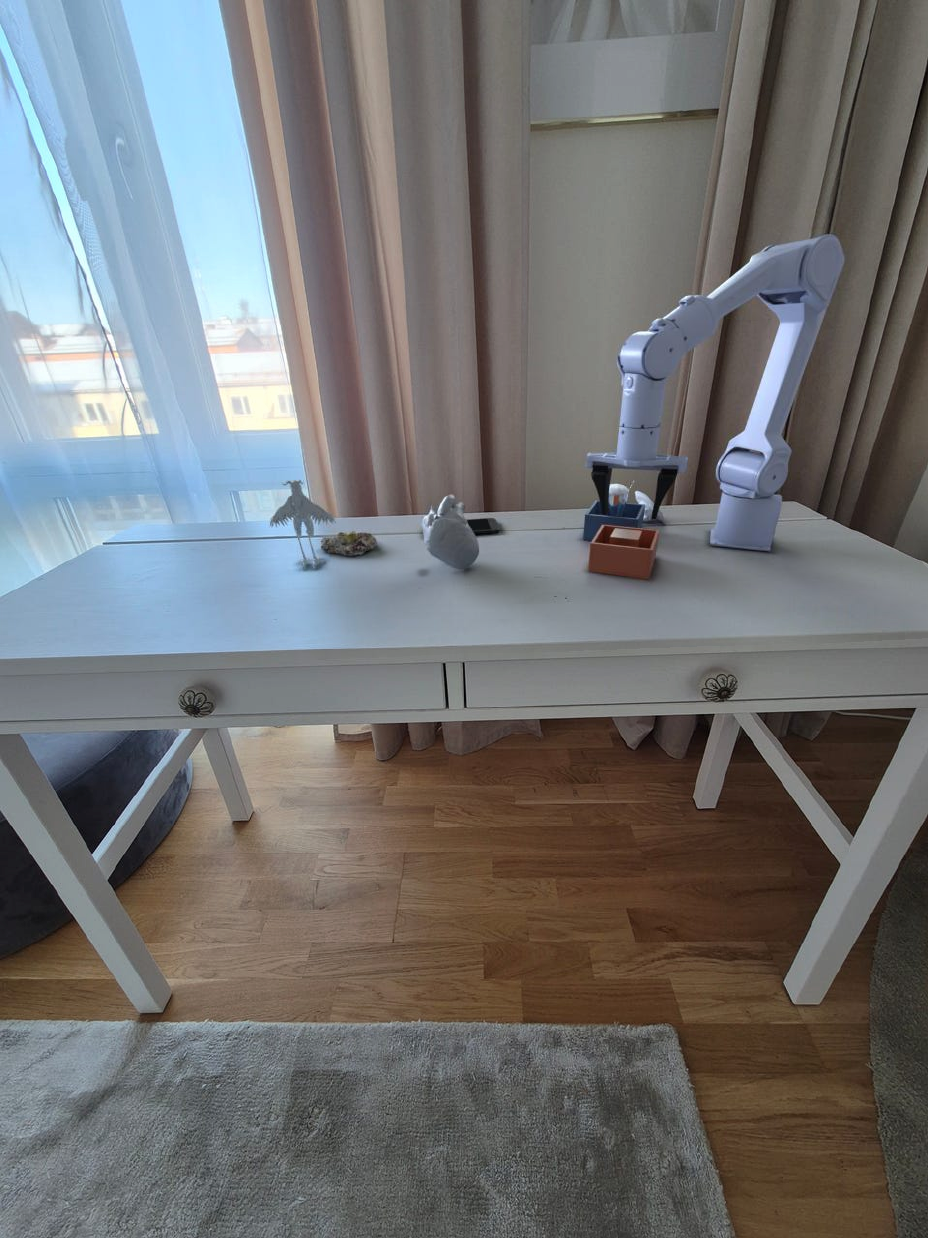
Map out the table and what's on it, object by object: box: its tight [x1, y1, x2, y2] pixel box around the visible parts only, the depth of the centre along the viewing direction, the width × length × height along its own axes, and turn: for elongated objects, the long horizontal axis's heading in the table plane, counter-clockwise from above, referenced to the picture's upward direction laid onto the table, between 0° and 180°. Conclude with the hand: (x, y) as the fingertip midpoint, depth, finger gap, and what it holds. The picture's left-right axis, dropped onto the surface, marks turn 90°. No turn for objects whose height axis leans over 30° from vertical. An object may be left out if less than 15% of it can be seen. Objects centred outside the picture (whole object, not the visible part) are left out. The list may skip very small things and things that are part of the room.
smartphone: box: [466, 517, 501, 535], centre depth 102 cm, size 7×15×1 cm, turn 95°
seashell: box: [634, 490, 666, 523], centre depth 102 cm, size 8×5×8 cm
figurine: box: [269, 479, 337, 571], centre depth 86 cm, size 11×4×15 cm, turn 95°
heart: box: [421, 493, 480, 570], centre depth 84 cm, size 10×10×12 cm
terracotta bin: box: [587, 525, 661, 580], centre depth 83 cm, size 10×10×5 cm
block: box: [609, 528, 642, 548], centre depth 83 cm, size 4×4×5 cm
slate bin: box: [582, 500, 645, 542], centre depth 96 cm, size 10×10×5 cm
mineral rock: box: [320, 530, 378, 557], centre depth 95 cm, size 11×4×8 cm
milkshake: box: [603, 479, 635, 517], centre depth 94 cm, size 4×5×10 cm
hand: (628, 515), depth 80 cm, fingers open, 7 cm apart
